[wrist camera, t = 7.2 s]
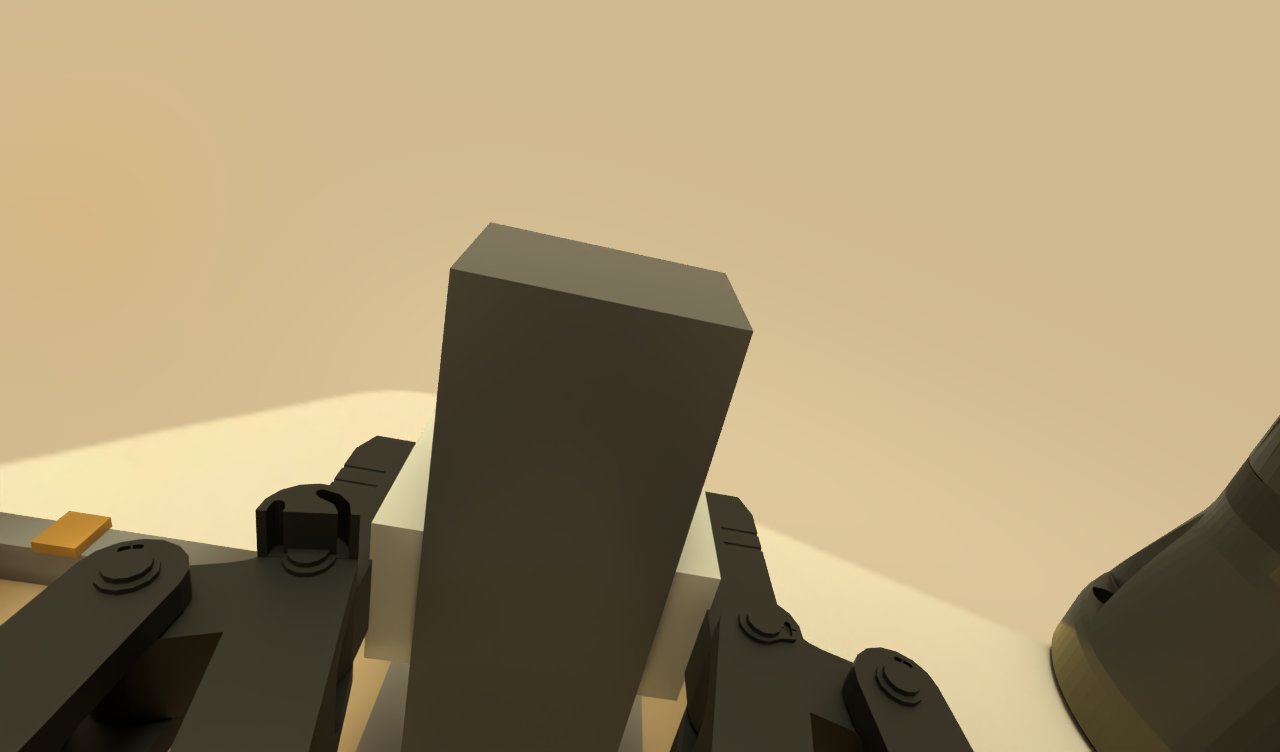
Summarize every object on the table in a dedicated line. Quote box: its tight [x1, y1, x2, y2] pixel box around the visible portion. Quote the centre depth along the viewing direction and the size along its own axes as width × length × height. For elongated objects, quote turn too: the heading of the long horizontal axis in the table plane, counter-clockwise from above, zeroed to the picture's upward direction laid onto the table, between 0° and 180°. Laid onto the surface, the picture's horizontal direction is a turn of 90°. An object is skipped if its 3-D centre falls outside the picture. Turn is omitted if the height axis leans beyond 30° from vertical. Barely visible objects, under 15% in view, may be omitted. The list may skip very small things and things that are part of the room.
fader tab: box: [356, 223, 753, 752], centre depth 11 cm, size 6×5×12 cm
